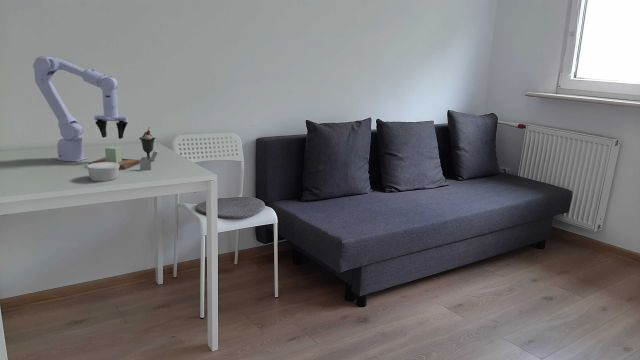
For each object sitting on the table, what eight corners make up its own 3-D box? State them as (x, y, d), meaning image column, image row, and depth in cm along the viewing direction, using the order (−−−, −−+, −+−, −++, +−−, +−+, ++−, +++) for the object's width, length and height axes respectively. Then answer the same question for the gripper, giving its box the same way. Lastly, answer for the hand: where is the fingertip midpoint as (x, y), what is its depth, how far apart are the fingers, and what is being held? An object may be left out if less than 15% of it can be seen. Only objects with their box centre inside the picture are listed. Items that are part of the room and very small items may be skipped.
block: (106, 162, 208) (105, 148, 206) (111, 160, 212) (111, 146, 211) (116, 163, 207) (115, 148, 206) (121, 160, 211) (121, 146, 210)
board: (88, 166, 206) (88, 163, 205) (105, 160, 217) (104, 157, 217) (125, 169, 203) (124, 165, 203) (139, 163, 215) (139, 159, 215)
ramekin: (86, 176, 191) (85, 162, 190) (117, 173, 196) (116, 160, 195) (89, 183, 182) (88, 169, 180) (122, 180, 187) (121, 166, 186)
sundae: (151, 162, 217) (150, 128, 213) (137, 161, 218) (135, 127, 214) (159, 159, 223) (158, 126, 219) (145, 158, 224) (144, 125, 221)
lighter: (140, 170, 203) (139, 151, 201) (140, 169, 205) (139, 150, 203) (158, 169, 206) (157, 150, 204) (158, 168, 207) (157, 149, 205)
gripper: (89, 106, 210) (91, 138, 213) (121, 107, 208) (123, 140, 211) (98, 104, 217) (100, 135, 220) (130, 106, 215) (131, 137, 218)
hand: (112, 137), depth 216 cm, fingers open, 7 cm apart
